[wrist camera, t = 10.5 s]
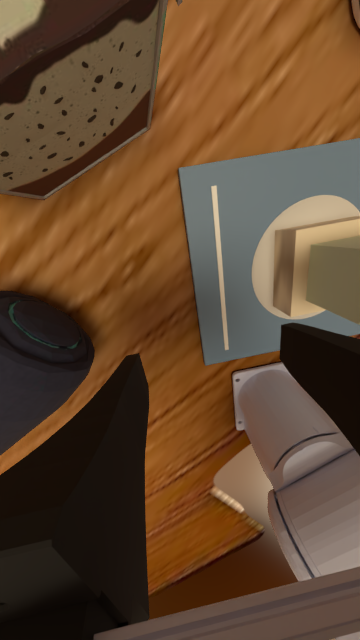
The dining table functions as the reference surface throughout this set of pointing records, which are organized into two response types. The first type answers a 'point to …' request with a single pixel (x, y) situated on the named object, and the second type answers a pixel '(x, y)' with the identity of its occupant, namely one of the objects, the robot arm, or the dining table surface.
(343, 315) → the sage block
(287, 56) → the dining table surface
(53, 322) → the portable speaker
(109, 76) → the food container
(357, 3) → the supplement bottle
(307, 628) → the robot arm
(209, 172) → the board
